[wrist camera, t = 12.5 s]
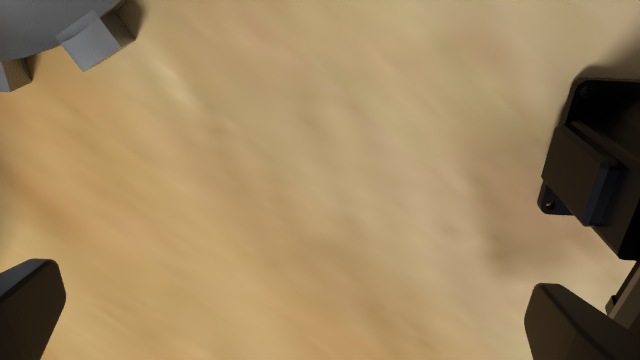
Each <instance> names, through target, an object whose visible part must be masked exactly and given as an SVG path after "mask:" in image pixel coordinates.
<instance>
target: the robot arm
mask: <svg viewBox="0 0 640 360" xmlns="http://www.w3.org/2000/svg"><path fill="white" fill-rule="evenodd" d="M585 86H588V91H587V92H586V93H585V94H583V95H580V91H581V90H582V88H584V87H585ZM541 177H542V179H543V184H542V187H541V190H540V194H539V197H538V201H537V205H538V207H539V208H540V209H541V211H542V212H544V213H545V214H552V215H572V216H575V217H576V218H577V219H578V220H579V221H580V222H581V224H582V225H583V226H585V227H591V228H592V229H593V230H594V231H595V232H596V233H597V234H598V235H599V236H600V238H601V239H602V240H603V241H604V242H605V243H606V244H607V245H608V246H609V248H610V249H611V250H612V251H613V252H614V253H615V254H616V255H617V256H618V258H619V259H622V260H635V261H636V263H635V265H634V267H633V268H632V270H631V271H630V273H629V275H628V276H627V278H626V279H625V281H624V283H623V284H622V286H621V288H620V289H619V291H618V292H617V294H616V295H612V296H611V298H610V299H609V301H608V303H607V304H606V306H605V309H606V313H607V315H605V314H604V313H602V312H601V311H599V310H598V309H596V308H595V307H593V306H592V305H590V304H589V303H587V302H586V301H584V300H583V299H581V298H580V297H578V296H577V295H576V294H574V293H573V292H571V291H570V290H568V289H567V288H565V287H564V286H562V285H560V284H550V283H539V284H537V285H536V286H535V287H534V289H533V292H532V295H531V298H530V301H529V304H528V307H527V310H526V313H525V318H524V325H525V331H526V334H527V338H528V342H529V345H530V349H531V353H532V356H533V360H640V80H631V79H609V78H588V77H585V78H580V79H578V80H576V81H575V82H574V83H573V84H572V86H571V88H570V92H569V95H568V98H567V102H566V105H565V109H564V112H563V115H562V119H561V122H560V124H559V125H558V126H557V127H556V128H555V130H554V134H553V137H552V141H551V144H550V147H549V151H548V154H547V158H546V161H545V165H544V168H543V172H542V175H541ZM549 201H553V203H552V204H551V205H548V206H546V204H547V203H548V202H549ZM65 302H66V292H65V288H64V284H63V281H62V277H61V273H60V270H59V266H58V264H57V263H56V261H54V260H52V259H29V260H27V261H25V262H23V263H21V264H19V265H17V266H15V267H13V268H11V269H8V270H6V271H4V272H2V273H0V360H40V359H41V357H42V355H43V352H44V350H45V348H46V346H47V344H48V341H49V339H50V337H51V335H52V332H53V330H54V328H55V326H56V324H57V321H58V319H59V317H60V315H61V312H62V310H63V308H64V305H65Z"/></svg>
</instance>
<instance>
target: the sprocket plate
mask: <svg viewBox="0 0 640 360" xmlns="http://www.w3.org/2000/svg"><path fill="white" fill-rule="evenodd" d="M126 1H127V0H0V92H12V91H14V90H16V89H18V88H20V87H22V86H24V85H27V84H29V83H31V78H30V75H29V71H28V68H27V64H26V60H25V57H28V56H31V55H34V54H37V53H40V52H43V51H46V50H49V49H52V48H55V47H57V46H60V45H62V46H63V47H64V49H65V50H66V51H67V52H68V54H69V55H70V56H71V57H72V59H73V60H74V61H75V62H76V64H77V65H78V66H79V67H80V69H81V70H82V71H83V72H84V71H86V70H88V69H90V68H92V67H94V66H96V65H98V64H100V63H101V62H103V61H104V60H106V59H107V58H109V57H110V56H112V55H113V54H115V53H116V52H118V51H120V50H121V49H123V48H124V47H126V46H127V45H129V44H130V43H132V42H133V41H135V39H134V37H133V36H132V34H131V33H130V32H129V30H128V29H127V27H126V26H125V25H124V23H123V22H122V21H121V19H120V18H119V16H118V15H117V14H116V12H117V11H118V10H119V9H120V8H121V6H122V5H123V4H124V3H125V2H126Z"/></svg>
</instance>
